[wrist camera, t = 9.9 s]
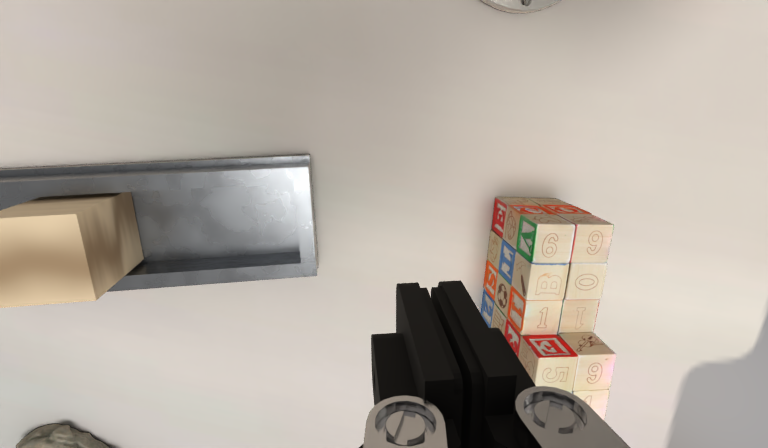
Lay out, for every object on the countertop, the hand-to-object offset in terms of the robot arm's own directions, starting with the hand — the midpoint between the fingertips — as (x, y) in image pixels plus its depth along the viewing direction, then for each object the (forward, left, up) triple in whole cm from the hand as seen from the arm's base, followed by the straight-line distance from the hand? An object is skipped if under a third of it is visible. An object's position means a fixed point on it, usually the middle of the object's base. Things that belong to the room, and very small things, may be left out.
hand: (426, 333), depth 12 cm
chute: (+4, -17, -28) cm, 33 cm away
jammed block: (+4, -21, -27) cm, 35 cm away
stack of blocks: (+14, +15, -29) cm, 35 cm away
